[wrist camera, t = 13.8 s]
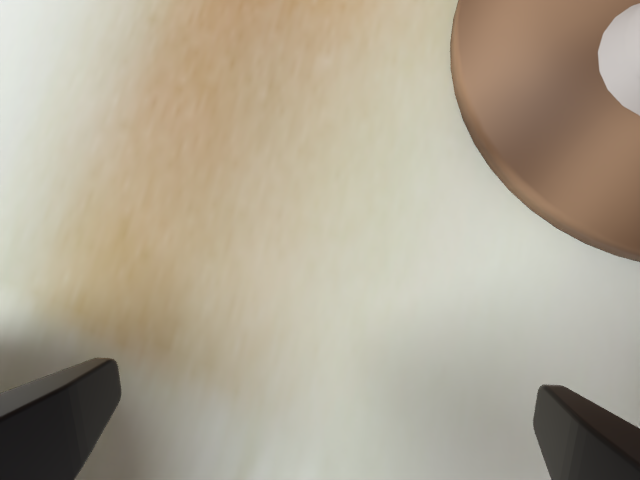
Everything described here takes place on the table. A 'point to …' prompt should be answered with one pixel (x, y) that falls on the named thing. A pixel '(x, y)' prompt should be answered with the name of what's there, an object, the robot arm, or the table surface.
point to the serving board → (551, 113)
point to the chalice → (622, 58)
